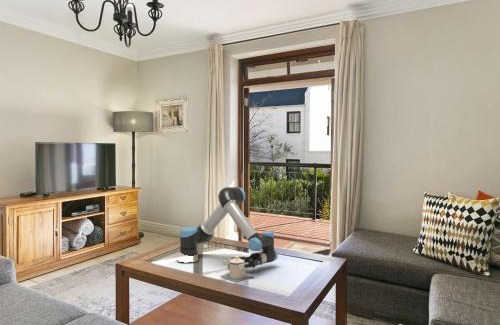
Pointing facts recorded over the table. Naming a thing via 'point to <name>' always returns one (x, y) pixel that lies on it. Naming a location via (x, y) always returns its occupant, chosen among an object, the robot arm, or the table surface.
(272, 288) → the table surface
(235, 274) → the teacup with lid
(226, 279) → the mat
